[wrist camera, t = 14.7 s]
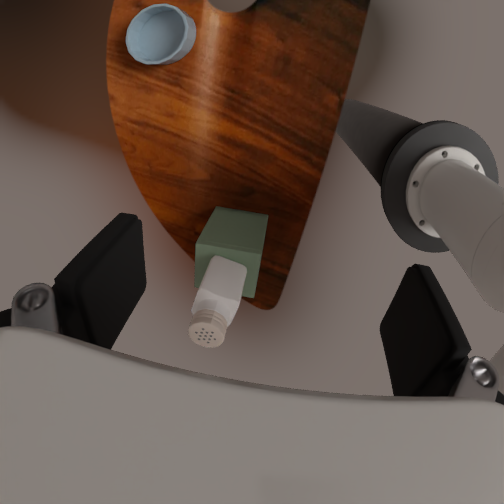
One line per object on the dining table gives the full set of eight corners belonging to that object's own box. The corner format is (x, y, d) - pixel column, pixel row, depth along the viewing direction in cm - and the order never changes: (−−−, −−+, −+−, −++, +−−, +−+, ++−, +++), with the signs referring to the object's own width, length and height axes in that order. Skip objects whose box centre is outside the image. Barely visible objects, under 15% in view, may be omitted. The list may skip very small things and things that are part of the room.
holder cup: (200, 7, 27) (192, 2, 24) (192, 65, 31) (183, 64, 28) (141, 11, 27) (130, 7, 24) (135, 65, 31) (123, 65, 28)
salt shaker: (204, 279, 34) (179, 341, 26) (213, 251, 32) (188, 312, 24) (237, 291, 35) (221, 356, 27) (249, 265, 33) (234, 329, 25)
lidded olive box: (268, 214, 40) (261, 254, 32) (261, 253, 43) (253, 298, 35) (216, 206, 40) (195, 243, 32) (213, 244, 43) (194, 287, 35)
